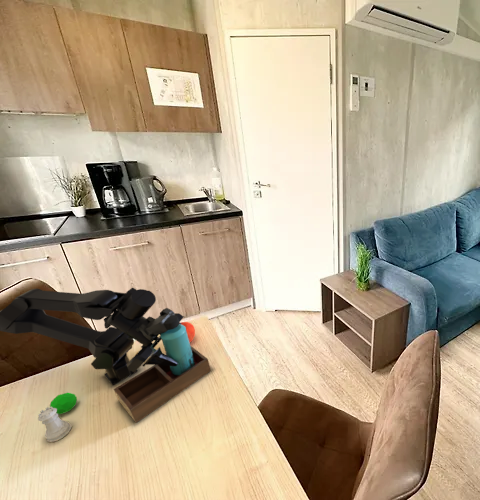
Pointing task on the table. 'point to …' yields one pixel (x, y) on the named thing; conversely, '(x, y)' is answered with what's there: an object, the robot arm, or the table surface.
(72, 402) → the polyhedron
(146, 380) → the divided wooden tray
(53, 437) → the rook chess piece
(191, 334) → the apple
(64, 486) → the table surface
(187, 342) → the beverage bottle
